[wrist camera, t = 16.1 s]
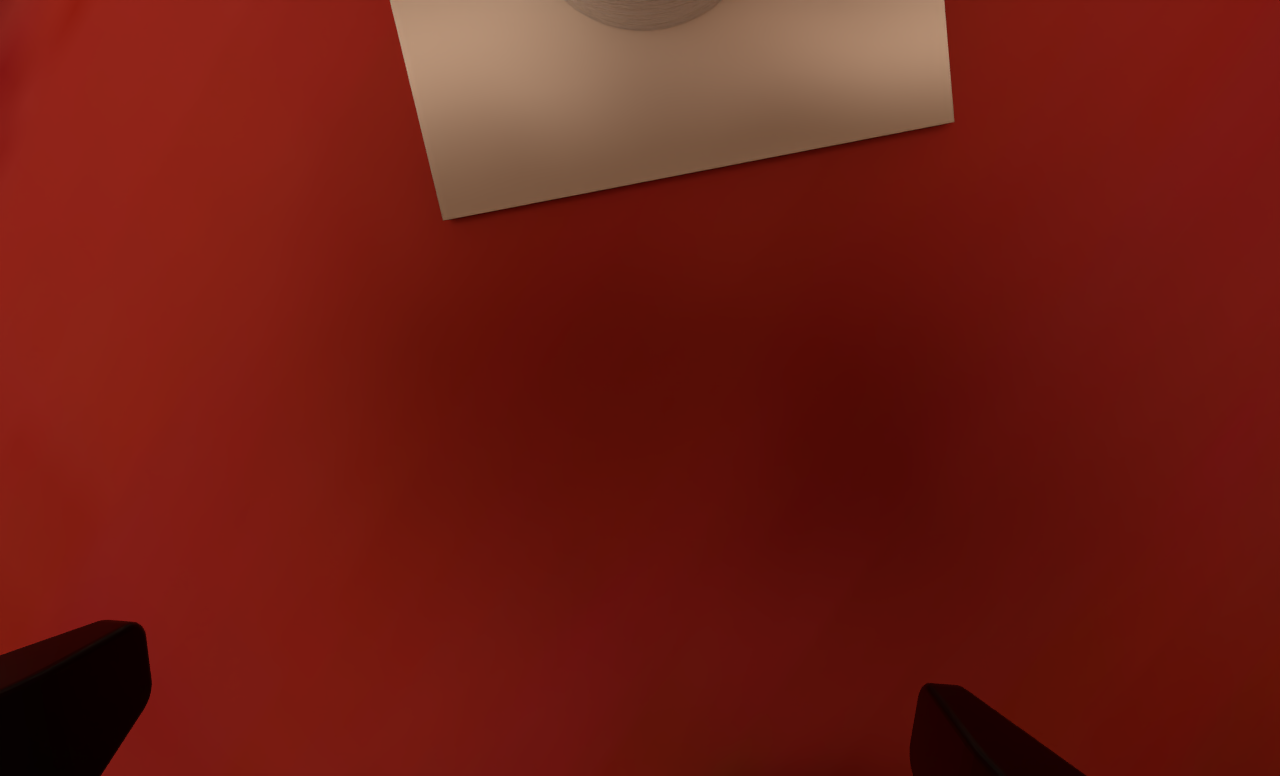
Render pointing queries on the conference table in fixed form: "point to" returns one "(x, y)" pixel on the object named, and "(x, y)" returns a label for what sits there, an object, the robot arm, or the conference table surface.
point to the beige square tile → (657, 90)
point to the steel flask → (642, 12)
